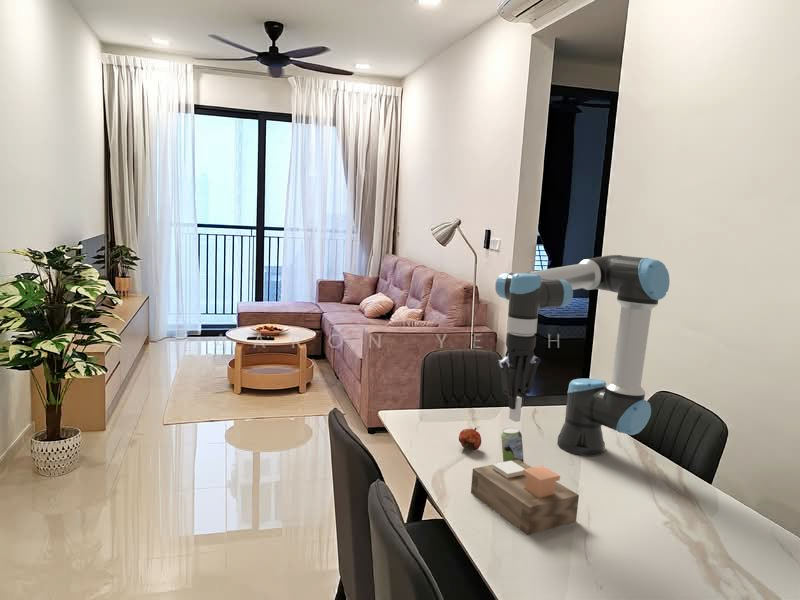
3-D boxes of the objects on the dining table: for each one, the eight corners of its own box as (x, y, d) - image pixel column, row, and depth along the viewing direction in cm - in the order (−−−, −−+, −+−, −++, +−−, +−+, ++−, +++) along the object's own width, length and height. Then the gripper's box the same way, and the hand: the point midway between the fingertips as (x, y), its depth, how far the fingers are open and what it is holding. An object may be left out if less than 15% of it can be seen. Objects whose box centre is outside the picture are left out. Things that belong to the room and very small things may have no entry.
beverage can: (523, 473, 177) (527, 435, 175) (498, 470, 179) (501, 432, 177) (523, 465, 183) (526, 427, 182) (499, 462, 185) (502, 424, 183)
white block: (508, 487, 167) (511, 460, 166) (523, 497, 161) (526, 469, 160) (490, 491, 164) (492, 464, 163) (505, 502, 158) (507, 473, 157)
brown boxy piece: (516, 482, 171) (518, 459, 170) (576, 521, 152) (578, 495, 150) (470, 492, 163) (472, 468, 162) (527, 534, 144) (530, 507, 143)
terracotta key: (539, 494, 156) (542, 465, 155) (556, 505, 151) (560, 475, 149) (520, 499, 153) (523, 469, 152) (537, 510, 147) (540, 480, 146)
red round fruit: (475, 462, 189) (491, 438, 194) (465, 447, 185) (482, 423, 190) (457, 457, 194) (473, 433, 199) (448, 442, 191) (464, 418, 196)
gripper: (531, 328, 162) (524, 412, 166) (492, 331, 156) (486, 418, 160) (550, 334, 156) (542, 421, 160) (511, 337, 149) (504, 428, 153)
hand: (514, 419), depth 160 cm, fingers closed
